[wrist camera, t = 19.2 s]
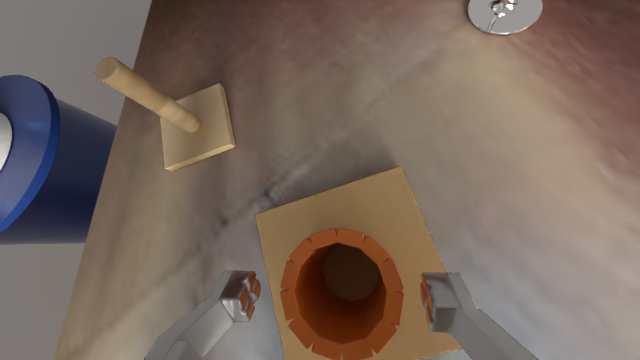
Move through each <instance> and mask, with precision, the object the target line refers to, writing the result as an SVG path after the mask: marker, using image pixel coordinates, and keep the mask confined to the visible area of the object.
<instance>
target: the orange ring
mask: <svg viewBox="0 0 640 360" xmlns="http://www.w3.org/2000/svg"><path fill="white" fill-rule="evenodd" d="M339 244H344V245H348V246H352V247H356V248H360V249H361V250H362V251H363V252H364V253H365V254H366V255H367V256H368V257H369V258H370V259H371V260H372V261H373V262H374V263H375V264H377V265H378V268H379V274H378V280H377V286H376V287H375V288H374V289H373V290H372V291H371V293H370V294H369V295H368V296H367V297H365V298H361V299H358V300H354V301H350V300H347V299H344V298H340V297H338V296H337V295H336V294H335V293H334V292H333V291H332V290H331V289H330V288H329V287H328V286H327V284H326V280H325V276H324V273H323V268H324V263H325V259H326V255H327V254H328V253H329V252H330V251H331V250H332V249H333V248H334V247H335V245H339ZM389 256H390V255H389V253H388V252H386V251H385V250H384V249H383V248H382V247H381V246H380V245H379V244H378V243H377V242H375V241H374V240H373V239H372V238H371V237H370V236H367V237H366V235H365V234H364V233H362V232H358V231H353V230H349V229H345V228H341V227H338V229H336V228H330V229H327V230H324V231H320V232H317V233H314V234H311V235H310V238H305V239H304V240H303V241H302V242H301V243H300V244H299V246H298V247H297V248H296V249H295V250H294V251H293V252H292V253H291V254H290V256H289V258H290V259H291V260H288V261H286V265H285V269H284V273H283V277H282V281H281V284H280V288H282V289H284V290H283V291H281V292H280V296H281V301H282V305H283V310H284V315H285V319H286V321H290V320H292V322H291V323H290V324H289V325H288V327H289V328H290V329H291V331H292V332H293V333H294V334H295V336H296V337H297V338H298V339H299V340H300V342H301V343H302V344H303V345H304V347H305V348H306V349H307V350H308V349H309V348H310V347H311V345H312V344H313V346H312V353H314V354H317V355H319V356H322V357H324V358H327V359H330V360H341V356H342V358H343V360H363V359H367V358H371V357H373V350H374V351H375V352H376V353H377V354H378V353H379V352H380V351H381V350H382V349H383V348H384V346H385V345H386V344H387V343H388V342H389V341H390V339H391V338H392V337H393V336H394V335H395V334H396V332H397V328H396V325H397V326H400V322H401V316H402V309H403V302H404V296H405V295H404V293H403V292H402V290H403V289H404V287H403V285H402V282H401V279H400V276H399V274H398V271H397V268H396V265H395V263H394V260H393V259H392V258H391V257H389Z"/></svg>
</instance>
